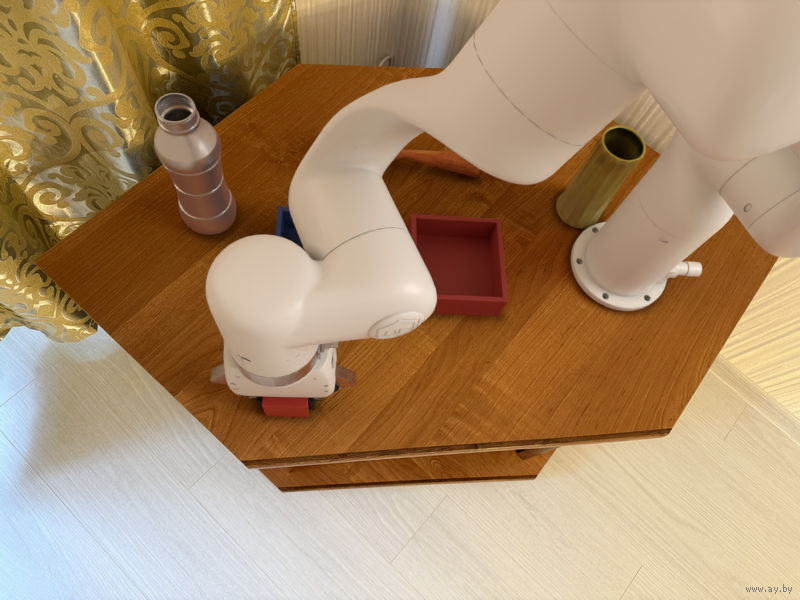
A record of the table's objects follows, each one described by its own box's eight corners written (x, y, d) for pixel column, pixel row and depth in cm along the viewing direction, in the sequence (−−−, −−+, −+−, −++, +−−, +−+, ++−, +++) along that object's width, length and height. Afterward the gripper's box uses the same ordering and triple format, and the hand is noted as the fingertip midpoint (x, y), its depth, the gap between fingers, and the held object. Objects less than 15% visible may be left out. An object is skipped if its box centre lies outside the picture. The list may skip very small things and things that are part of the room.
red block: (310, 376, 67) (309, 364, 63) (308, 417, 65) (307, 407, 61) (269, 375, 67) (265, 363, 63) (266, 416, 65) (261, 406, 61)
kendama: (484, 176, 76) (328, 152, 73) (470, 194, 82) (325, 173, 79) (486, 134, 78) (333, 109, 74) (472, 154, 83) (329, 132, 80)
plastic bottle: (199, 189, 75) (158, 71, 57) (248, 207, 75) (223, 95, 57) (174, 230, 73) (123, 120, 54) (225, 249, 72) (191, 145, 54)
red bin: (492, 236, 77) (501, 218, 73) (498, 316, 73) (508, 301, 69) (406, 232, 76) (411, 213, 72) (407, 312, 72) (412, 297, 68)
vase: (596, 234, 79) (647, 171, 66) (552, 222, 79) (594, 156, 66) (601, 198, 82) (652, 129, 69) (558, 185, 82) (601, 115, 69)
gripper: (378, 303, 52) (365, 365, 68) (177, 294, 50) (214, 361, 67) (377, 387, 49) (364, 431, 65) (163, 381, 47) (206, 428, 64)
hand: (288, 395), depth 66 cm, fingers closed on red block, 4 cm apart
